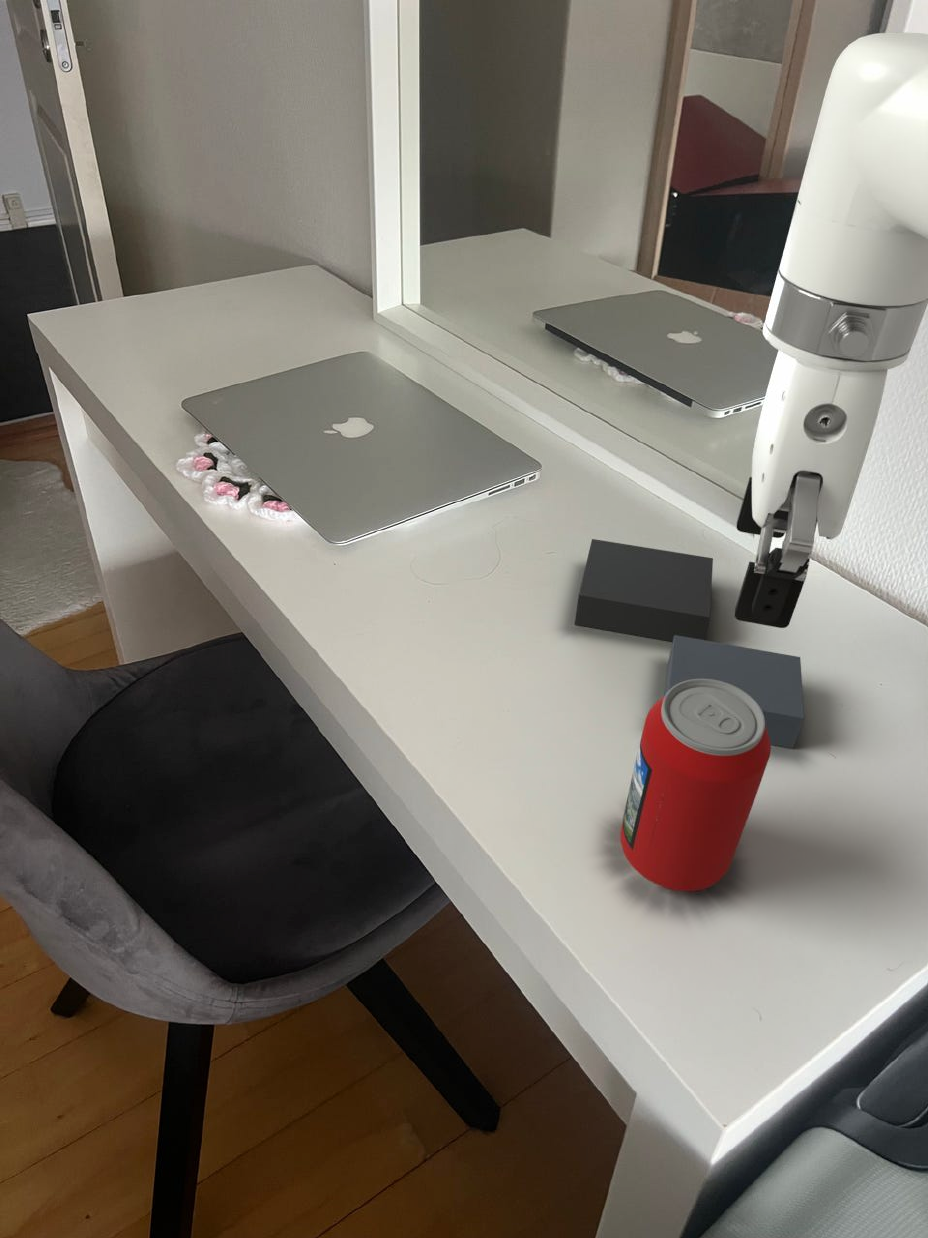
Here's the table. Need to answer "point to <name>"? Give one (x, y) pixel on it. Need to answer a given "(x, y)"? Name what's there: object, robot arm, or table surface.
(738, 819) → the beverage can
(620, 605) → the pad base
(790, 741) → the pad top
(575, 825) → the table surface
